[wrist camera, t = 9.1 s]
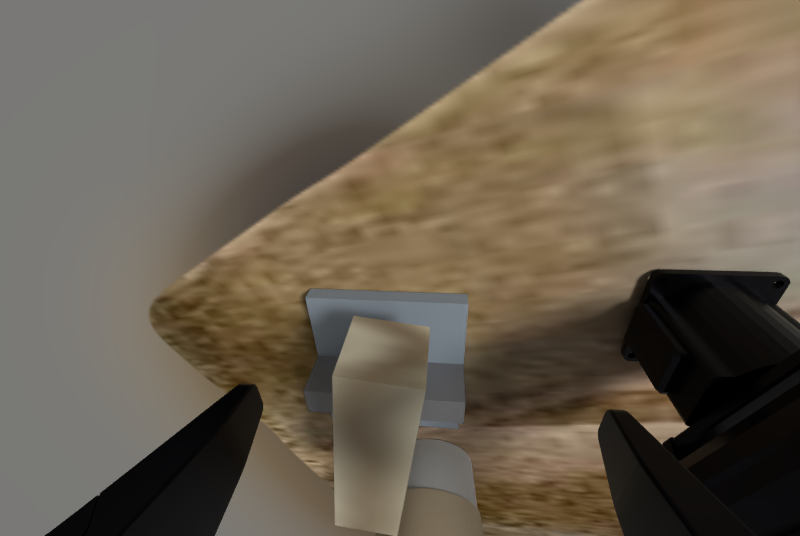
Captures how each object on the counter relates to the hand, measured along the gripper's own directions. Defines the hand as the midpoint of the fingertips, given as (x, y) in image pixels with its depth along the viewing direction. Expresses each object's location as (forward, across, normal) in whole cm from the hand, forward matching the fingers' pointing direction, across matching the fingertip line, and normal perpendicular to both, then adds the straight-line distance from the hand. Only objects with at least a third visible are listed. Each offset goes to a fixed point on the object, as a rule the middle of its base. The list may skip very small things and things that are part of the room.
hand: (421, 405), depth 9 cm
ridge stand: (+12, +3, +11) cm, 17 cm away
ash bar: (+8, +3, +11) cm, 14 cm away
